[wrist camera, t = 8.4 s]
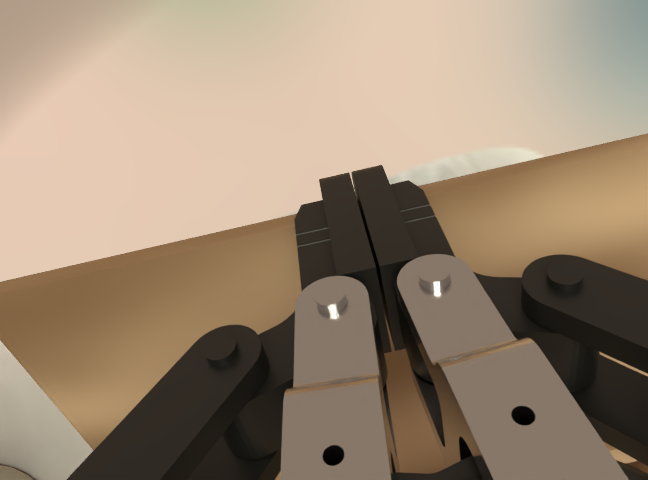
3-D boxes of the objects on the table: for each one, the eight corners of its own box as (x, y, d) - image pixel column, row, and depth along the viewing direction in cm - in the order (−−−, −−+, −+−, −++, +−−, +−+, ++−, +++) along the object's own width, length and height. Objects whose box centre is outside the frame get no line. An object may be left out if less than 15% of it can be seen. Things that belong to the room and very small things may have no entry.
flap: (757, 120, 13) (739, 110, 13) (-33, 301, 14) (-23, 285, 14) (656, 440, 21) (647, 427, 22) (171, 541, 22) (173, 526, 22)
